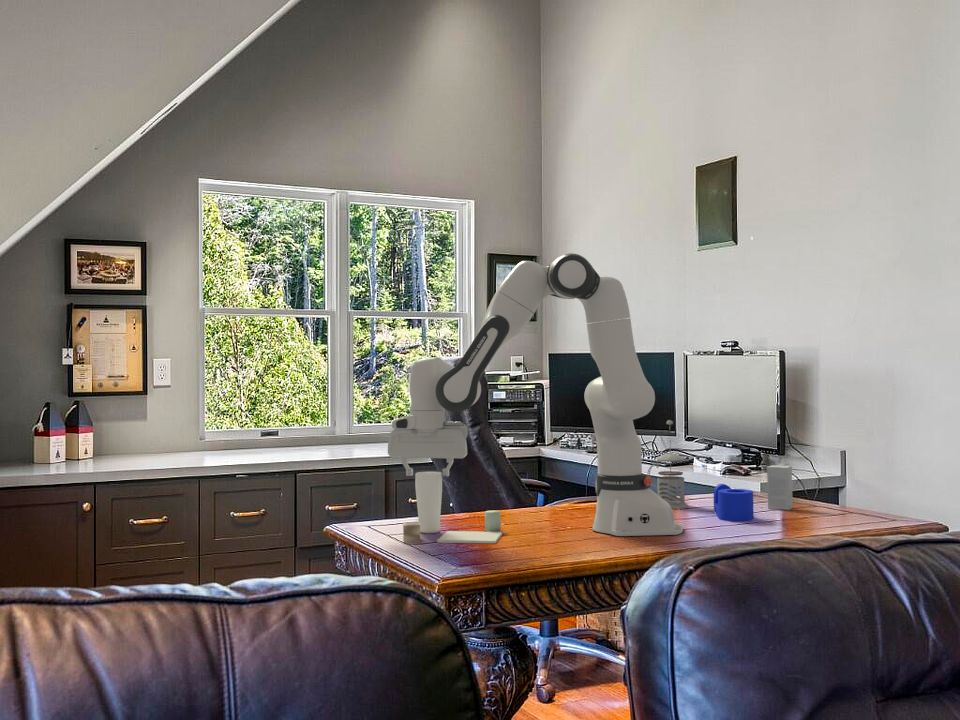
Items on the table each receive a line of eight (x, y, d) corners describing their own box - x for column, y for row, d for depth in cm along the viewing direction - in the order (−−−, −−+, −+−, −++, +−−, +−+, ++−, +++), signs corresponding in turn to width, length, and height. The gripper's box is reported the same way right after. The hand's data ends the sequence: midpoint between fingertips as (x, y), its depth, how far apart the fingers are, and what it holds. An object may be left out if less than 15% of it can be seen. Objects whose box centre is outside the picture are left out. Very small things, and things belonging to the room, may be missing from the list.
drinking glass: (439, 534, 239) (438, 474, 239) (413, 534, 240) (412, 474, 240) (445, 529, 246) (444, 471, 246) (420, 529, 247) (419, 471, 247)
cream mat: (502, 534, 238) (502, 531, 238) (495, 543, 226) (495, 540, 226) (447, 533, 240) (447, 531, 240) (437, 542, 228) (437, 540, 228)
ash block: (419, 538, 235) (419, 522, 235) (420, 541, 231) (420, 525, 231) (403, 539, 234) (403, 522, 234) (403, 542, 230) (403, 525, 230)
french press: (684, 509, 272) (682, 421, 272) (644, 507, 277) (642, 421, 277) (691, 504, 281) (690, 419, 281) (653, 502, 286) (651, 418, 286)
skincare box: (793, 508, 270) (792, 466, 270) (789, 510, 267) (788, 467, 267) (771, 506, 274) (770, 465, 274) (767, 508, 270) (766, 466, 270)
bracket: (757, 522, 250) (757, 493, 250) (723, 522, 250) (722, 493, 250) (738, 510, 270) (738, 483, 270) (706, 511, 270) (705, 484, 270)
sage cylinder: (501, 530, 244) (501, 510, 244) (499, 532, 240) (499, 513, 240) (486, 529, 245) (486, 510, 245) (483, 532, 241) (483, 512, 241)
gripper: (469, 420, 244) (470, 474, 244) (392, 420, 248) (392, 473, 248) (465, 422, 238) (465, 477, 238) (385, 421, 241) (386, 476, 241)
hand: (427, 475), depth 243 cm, fingers open, 8 cm apart
